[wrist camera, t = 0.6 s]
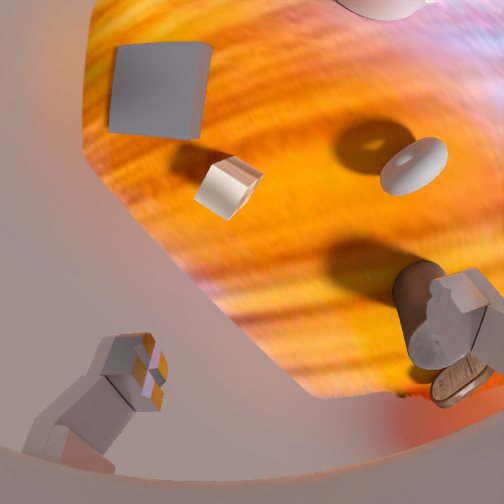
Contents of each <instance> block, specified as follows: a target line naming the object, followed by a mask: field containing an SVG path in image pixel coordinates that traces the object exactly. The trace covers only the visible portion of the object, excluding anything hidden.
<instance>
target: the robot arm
mask: <svg viewBox="0 0 504 504" xmlns="http://www.w3.org/2000/svg"><path fill="white" fill-rule="evenodd" d="M337 1H338V2H339V3H341V4H342V5H343V6H345V7H346V8H348V9H349V10H351V11H353V12H355V13H357V14H359V15H361V16H364V17H367V18H371V19H375V20H383V21H392V20H399V19H403V18H406V17H408V16H410V15H412V14H413V13H414V12H416V11H417V10H418V9H419V8H421V7H422V6H427V5H432V4H435V3H437V2H438V0H337ZM429 291H430V293H431V294H432V297H431V299H430V300H429V301H428V303H427V309H426V315H427V321H428V324H429V327H430V329H431V331H432V333H434V334H436V335H437V336H439V337H440V340H439V345H440V347H441V349H442V351H443V352H444V354H445V356H446V358H447V360H449V359H452V358H455V357H458V356H461V355H464V354H467V353H469V352H471V354H472V355H474V356H475V357H477V358H478V359H480V360H481V361H482V362H484V363H485V364H487V365H488V366H489V367H491V368H492V369H494V370H495V371H496V372H498V373H499V374H501V375H502V376H503V377H504V298H503V297H502V296H501V295H500V294H499V292H498V291H497V290H496V289H495V288H494V287H493V285H492V284H491V283H490V282H489V281H488V280H487V279H486V278H485V276H484V275H483V274H482V273H481V272H480V271H479V270H478V269H477V268H474V267H473V268H470V269H467V270H464V271H461V272H458V273H454V274H451V275H447V276H444V277H440V278H436V279H433V280H432V282H431V284H430V290H429ZM154 345H155V340H154V338H153V337H152V335H151V334H150V333H134V334H120V335H111V336H105V337H103V338H102V339H101V342H100V344H99V346H98V348H97V351H96V353H95V355H94V358H93V360H92V362H91V365H90V367H89V370H88V372H87V375H86V376H81V377H80V378H79V379H78V380H77V381H76V382H75V383H74V384H72V385H71V386H70V387H69V388H68V389H67V390H66V391H65V392H63V393H62V394H61V395H60V396H59V397H58V398H57V399H56V400H55V401H54V402H53V403H51V404H50V405H49V406H48V407H47V408H46V409H45V410H44V411H43V412H41V413H40V414H39V415H38V416H37V417H36V418H35V419H34V421H33V423H32V426H31V428H30V431H29V433H28V436H27V439H26V441H25V444H24V447H23V449H22V452H18V451H15V450H12V449H9V448H7V447H4V446H1V445H0V504H504V409H503V410H501V411H499V412H497V413H495V414H493V415H491V416H489V417H487V418H485V419H483V420H481V421H479V422H477V423H475V424H472V425H470V426H468V427H466V428H463V429H461V430H459V431H457V432H454V433H452V434H450V435H447V436H444V437H442V438H440V439H437V440H434V441H432V442H429V443H427V444H424V445H421V446H418V447H415V448H412V449H409V450H406V451H402V452H399V453H396V454H393V455H389V456H386V457H382V458H379V459H375V460H372V461H367V462H363V463H360V464H355V465H351V466H346V467H341V468H337V469H332V470H327V471H321V472H315V473H309V474H302V475H295V476H287V477H279V478H269V479H257V480H244V481H243V480H242V481H205V482H204V481H173V480H172V481H171V480H158V479H147V478H137V477H129V476H121V475H114V472H115V466H114V464H113V463H112V462H110V461H109V460H108V459H106V458H105V457H104V456H103V455H104V453H105V452H106V451H107V450H108V448H109V447H110V446H111V445H112V443H113V442H114V440H115V439H116V438H117V437H118V436H119V434H120V433H121V431H122V430H123V429H124V428H125V426H126V425H127V424H128V423H129V421H130V420H131V419H132V417H133V416H134V415H135V412H152V411H153V412H154V411H160V409H161V404H162V399H163V394H164V393H163V391H162V390H161V388H160V387H161V386H162V385H163V384H164V383H165V382H166V379H167V363H166V360H165V357H164V355H163V354H162V352H161V351H160V350H158V349H156V348H155V347H154Z"/></svg>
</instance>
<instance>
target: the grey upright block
mask: <svg viewBox="0 0 504 504" xmlns="http://www.w3.org/2000/svg"><path fill="white" fill-rule="evenodd" d="M263 175H264V174H263V173H262V172H260V171H259V170H257V169H255V168H254V167H252V166H251V165H249V164H247V163H246V162H244V161H243V160H241V159H239V158H238V157H236V156H232V157H230V158H227V159H225V160H222V161H220V162H217V163H215V164H212V166H211V167H210V169H209V171H208V173H207V175H206V177H205V179H204V180H203V182H202V184H201V186H200V188H199V190H198V192H197V194H196V196H195V198H194V200H196V201H198V202H199V203H201V204H202V205H204V206H205V207H207V208H208V209H210V210H211V211H213V212H214V213H216V214H217V215H219V216H220V217H222V218H224V219H225V220H227V221H228V220H229V219H230V218H231V217H232V216H233V215H234V214H235V213H236V212H237V211H238V210H239V209H240V208H241V207H242V206H243V205H244V204H245V203H246V202H247V201H248V199H249V198H250V196H251V194H252V193H253V191H254V190H255V188H256V186H257V185H258V183H259V182H260V180H261V178H262V177H263Z"/></svg>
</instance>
